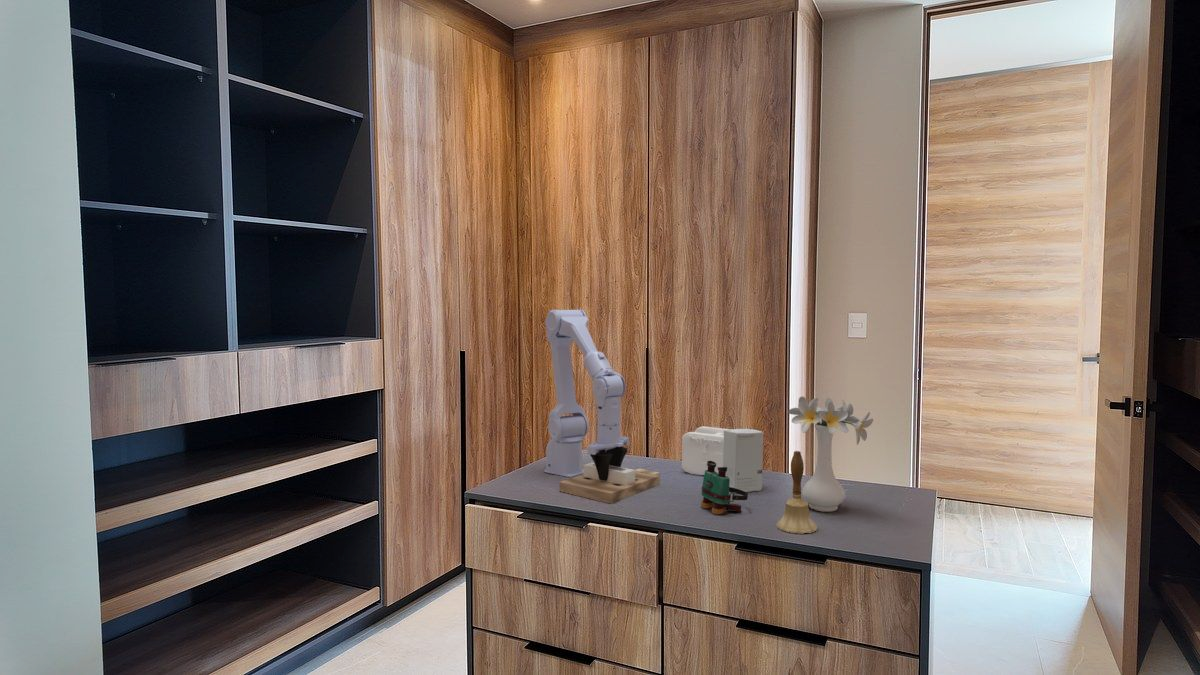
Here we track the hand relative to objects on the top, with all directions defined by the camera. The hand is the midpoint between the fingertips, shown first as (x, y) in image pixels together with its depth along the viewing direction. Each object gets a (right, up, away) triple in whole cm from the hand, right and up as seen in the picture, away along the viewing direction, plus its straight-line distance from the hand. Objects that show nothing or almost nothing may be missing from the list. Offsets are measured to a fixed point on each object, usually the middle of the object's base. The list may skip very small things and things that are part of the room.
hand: (608, 478), depth 175 cm
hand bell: (+39, -5, -28) cm, 48 cm away
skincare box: (+33, -3, 0) cm, 33 cm away
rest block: (+10, -2, +10) cm, 14 cm away
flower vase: (+49, -4, -15) cm, 52 cm away
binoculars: (+26, -4, -15) cm, 30 cm away
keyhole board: (0, -3, +1) cm, 3 cm away
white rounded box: (+29, -2, +16) cm, 33 cm away
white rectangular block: (0, -2, 0) cm, 2 cm away
